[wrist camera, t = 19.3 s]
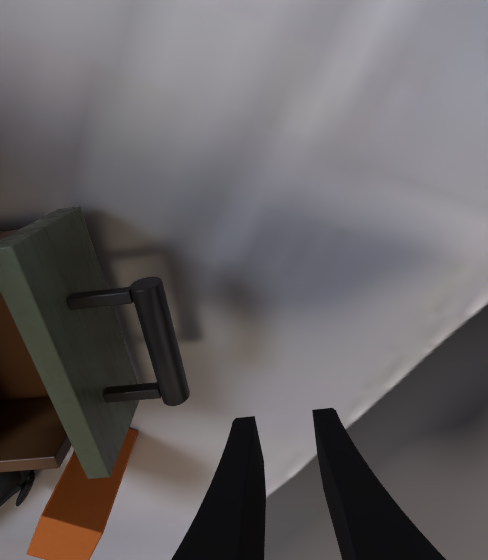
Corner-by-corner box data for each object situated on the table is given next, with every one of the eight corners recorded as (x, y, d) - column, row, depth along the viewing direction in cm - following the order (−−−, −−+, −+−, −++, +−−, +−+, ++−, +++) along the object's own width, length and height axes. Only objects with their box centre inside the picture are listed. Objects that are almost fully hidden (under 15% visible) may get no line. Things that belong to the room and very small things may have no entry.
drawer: (164, 195, 18) (128, 232, 13) (207, 389, 23) (194, 471, 18) (-148, 235, 19) (-299, 283, 14) (-40, 410, 24) (-120, 494, 19)
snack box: (78, 450, 27) (25, 555, 21) (92, 414, 26) (40, 516, 19) (122, 464, 28) (83, 570, 21) (138, 430, 26) (102, 534, 20)
